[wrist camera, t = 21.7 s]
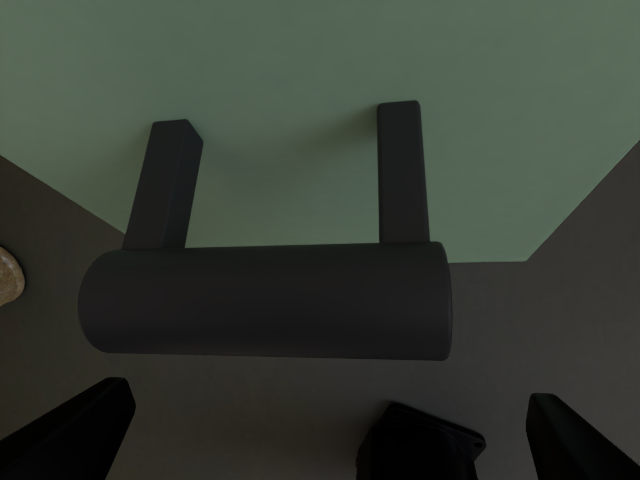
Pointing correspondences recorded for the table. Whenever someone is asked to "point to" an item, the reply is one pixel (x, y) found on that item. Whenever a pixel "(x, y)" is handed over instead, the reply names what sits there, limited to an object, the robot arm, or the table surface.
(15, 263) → the spice jar
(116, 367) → the table surface
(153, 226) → the green box lid
